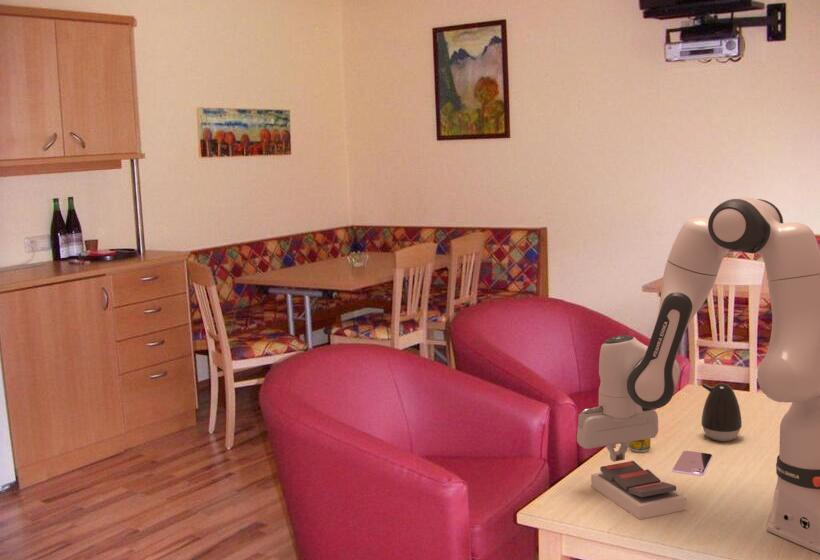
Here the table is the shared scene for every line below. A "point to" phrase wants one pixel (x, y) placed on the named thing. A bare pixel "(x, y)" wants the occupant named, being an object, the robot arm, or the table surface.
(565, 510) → the table surface
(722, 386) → the pump dispenser
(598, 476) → the rocker switch panel
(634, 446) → the supplement bottle
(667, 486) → the rocker
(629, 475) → the rocker
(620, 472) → the block
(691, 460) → the mobile phone
